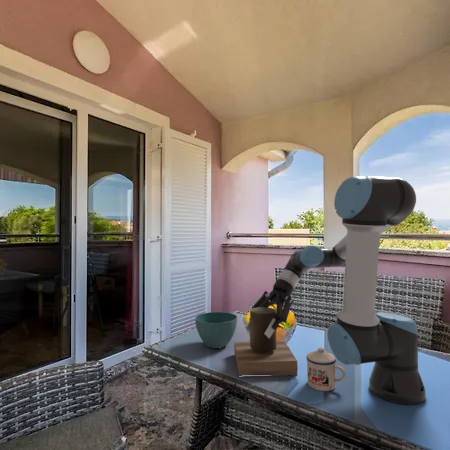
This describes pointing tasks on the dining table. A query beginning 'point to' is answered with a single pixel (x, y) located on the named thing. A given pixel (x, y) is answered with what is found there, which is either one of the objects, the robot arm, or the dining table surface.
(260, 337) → the pillar candle
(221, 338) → the plant pot
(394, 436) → the dining table surface
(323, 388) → the teacup with lid
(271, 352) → the block
